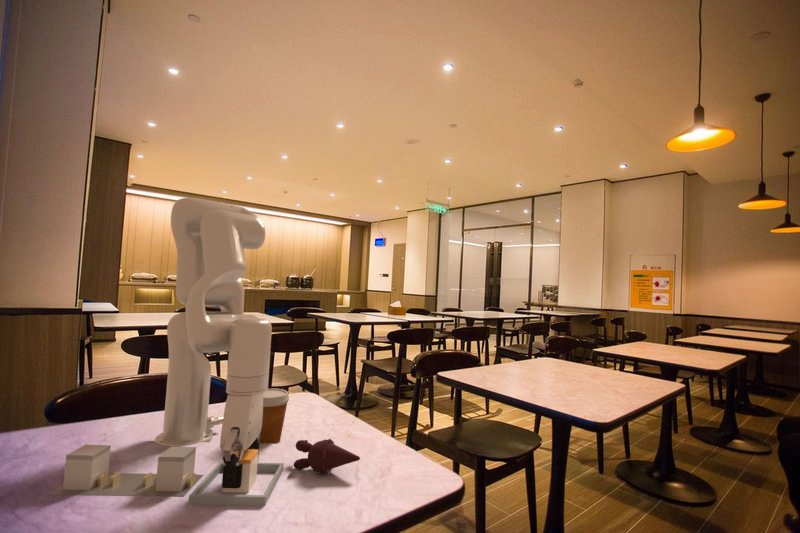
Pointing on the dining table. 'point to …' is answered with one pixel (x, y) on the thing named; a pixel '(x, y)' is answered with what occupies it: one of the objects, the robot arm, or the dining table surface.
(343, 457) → the icecream
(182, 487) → the block
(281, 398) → the disposable coffee cup
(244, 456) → the block
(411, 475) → the dining table surface
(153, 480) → the fuse panel
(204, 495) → the tray
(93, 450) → the fuse
